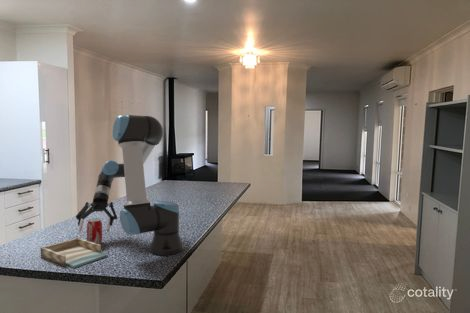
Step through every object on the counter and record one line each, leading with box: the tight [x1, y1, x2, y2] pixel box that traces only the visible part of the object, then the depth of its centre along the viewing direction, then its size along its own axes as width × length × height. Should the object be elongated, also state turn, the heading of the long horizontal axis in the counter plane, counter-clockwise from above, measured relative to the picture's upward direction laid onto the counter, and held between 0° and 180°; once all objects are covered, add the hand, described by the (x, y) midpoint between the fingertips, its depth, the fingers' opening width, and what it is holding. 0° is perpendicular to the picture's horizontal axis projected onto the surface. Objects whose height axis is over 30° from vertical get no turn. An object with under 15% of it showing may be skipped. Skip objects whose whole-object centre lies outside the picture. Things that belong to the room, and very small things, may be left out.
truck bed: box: [40, 237, 108, 269], centre depth 155 cm, size 24×18×4 cm
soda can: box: [86, 217, 103, 244], centre depth 173 cm, size 7×7×12 cm
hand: (93, 231), depth 173 cm, fingers open, 13 cm apart
